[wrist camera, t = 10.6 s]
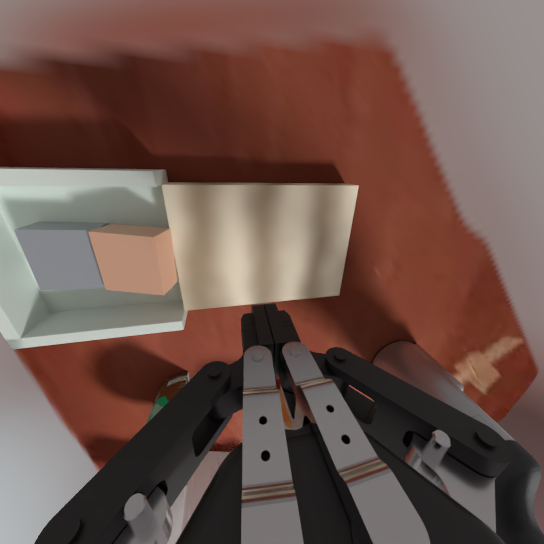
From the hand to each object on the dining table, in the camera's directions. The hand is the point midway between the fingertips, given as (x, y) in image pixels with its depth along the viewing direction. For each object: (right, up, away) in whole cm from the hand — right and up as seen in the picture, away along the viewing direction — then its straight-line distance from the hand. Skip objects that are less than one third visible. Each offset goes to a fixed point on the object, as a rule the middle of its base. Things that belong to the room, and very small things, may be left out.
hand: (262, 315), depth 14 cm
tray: (-18, +5, +10) cm, 22 cm away
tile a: (-13, +5, +10) cm, 16 cm away
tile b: (-19, +5, +10) cm, 22 cm away
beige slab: (0, +6, +14) cm, 15 cm away
